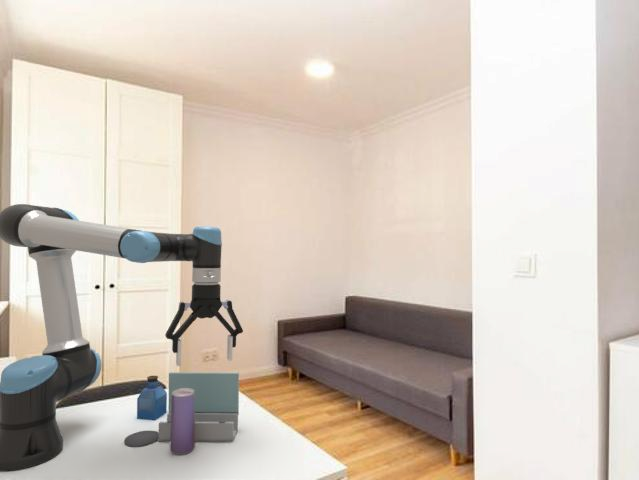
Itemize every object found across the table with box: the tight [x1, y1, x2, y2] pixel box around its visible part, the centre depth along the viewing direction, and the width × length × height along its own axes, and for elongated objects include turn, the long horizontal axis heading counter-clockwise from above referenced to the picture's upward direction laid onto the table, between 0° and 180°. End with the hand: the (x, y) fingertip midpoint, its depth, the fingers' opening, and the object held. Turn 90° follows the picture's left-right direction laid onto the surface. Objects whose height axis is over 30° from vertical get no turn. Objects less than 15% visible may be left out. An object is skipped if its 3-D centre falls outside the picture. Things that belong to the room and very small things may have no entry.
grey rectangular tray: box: [158, 412, 239, 443], centre depth 113 cm, size 20×7×5 cm, turn 90°
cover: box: [168, 371, 240, 416], centre depth 117 cm, size 20×12×1 cm
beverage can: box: [169, 388, 196, 456], centre depth 105 cm, size 6×6×15 cm
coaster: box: [123, 430, 159, 448], centre depth 111 cm, size 9×9×1 cm
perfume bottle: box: [136, 375, 168, 421], centre depth 127 cm, size 6×6×12 cm
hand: (204, 362), depth 110 cm, fingers open, 13 cm apart
